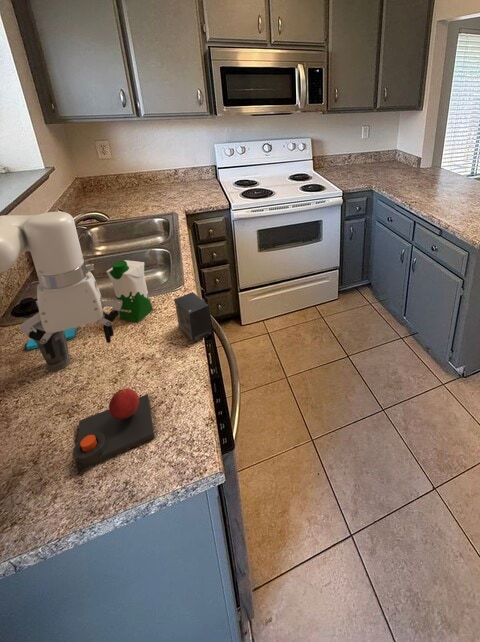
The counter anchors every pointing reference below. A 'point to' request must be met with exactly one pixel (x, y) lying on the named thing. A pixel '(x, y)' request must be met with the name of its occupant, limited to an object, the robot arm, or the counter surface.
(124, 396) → the onion
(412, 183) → the counter surface
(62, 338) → the beverage cup
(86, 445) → the power button
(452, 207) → the counter surface
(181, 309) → the small box
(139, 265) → the milk carton
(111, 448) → the scale
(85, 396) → the counter surface
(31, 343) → the sponge
